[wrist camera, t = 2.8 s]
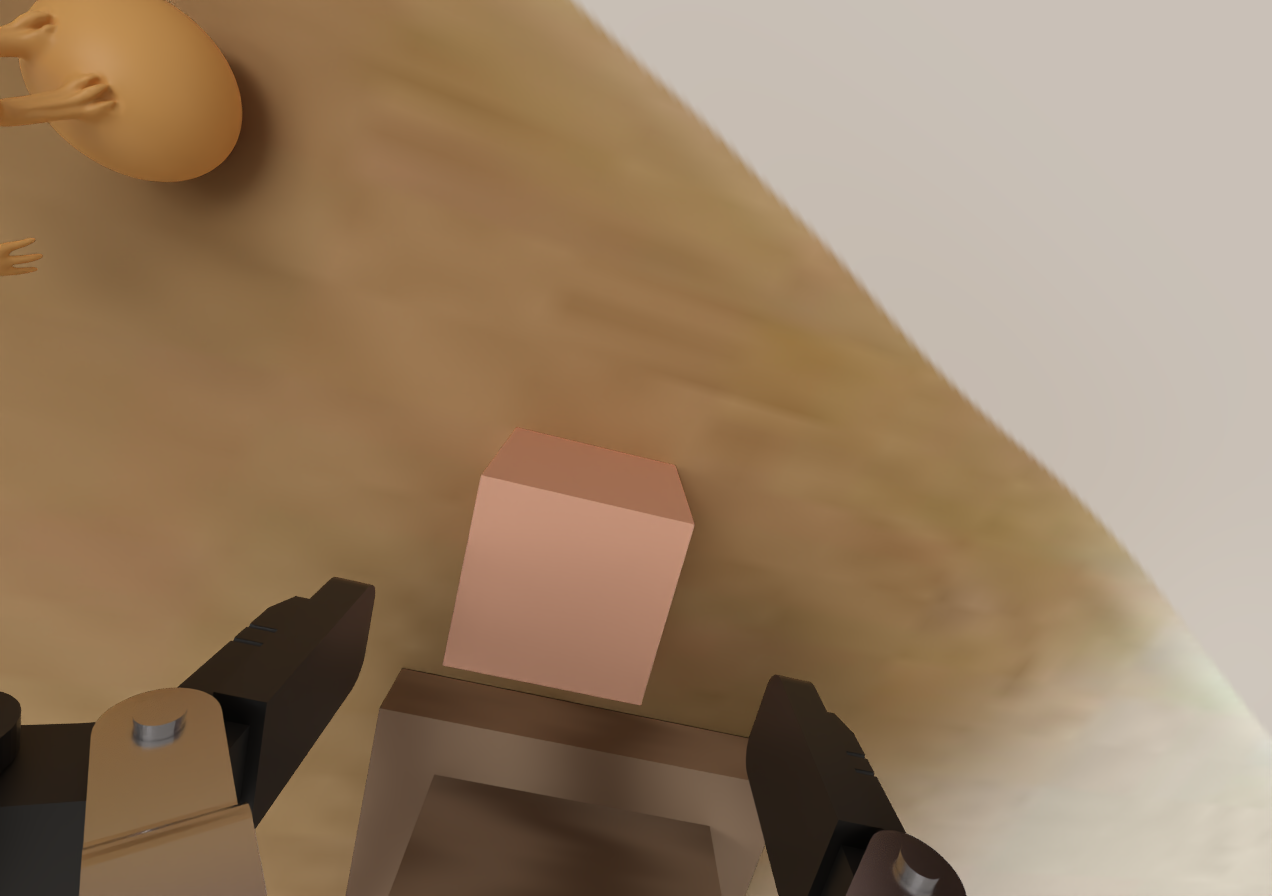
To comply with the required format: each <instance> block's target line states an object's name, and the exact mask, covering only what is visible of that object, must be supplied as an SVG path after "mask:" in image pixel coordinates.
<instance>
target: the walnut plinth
mask: <svg viewBox="0 0 1272 896" xmlns="http://www.w3.org/2000/svg"><path fill="white" fill-rule="evenodd" d="M748 739H749V738H744V737H739V736H734V735H729V734H724V733H719V732H714V731H709V730H704V729H699V728H694V727H690V726H685V725H680V724H675V723H670V722H665V721H660V720H655V719H650V718H645V717H640V716H635V715H630V714H625V713H620V712H615V711H610V710H605V709H600V708H595V707H591V706H586V705H581V704H576V703H571V702H566V701H561V700H556V699H551V698H546V697H541V696H536V695H531V694H526V693H521V692H516V691H511V690H506V689H501V688H496V687H492V686H487V685H482V684H477V683H472V682H467V681H462V680H457V679H452V678H447V677H442V676H437V675H432V674H427V673H422V672H417V671H412V670H407V669H402V670H401V671H400V673H399V675H398V677H397V678H396V680H395V682H394V684H393V685H392V687H391V689H390V691H389V692H388V694H387V696H386V698H385V699H384V701H383V703H382V705H381V707H380V708H379V714H378V720H377V725H376V731H375V736H374V742H373V747H372V753H371V758H370V764H369V769H368V775H367V780H366V786H365V791H364V797H363V802H362V808H361V814H360V819H359V825H358V830H357V836H356V841H355V847H354V852H353V858H352V863H351V869H350V874H349V880H348V885H347V891H346V896H745V895H746V892H747V890H748V887H749V885H750V882H751V879H752V877H753V874H754V872H755V869H756V866H757V864H758V861H759V858H760V856H761V853H762V851H763V848H764V845H765V841H764V837H763V833H762V830H761V826H760V822H759V818H758V814H757V810H756V806H755V803H754V799H753V795H752V791H751V787H750V783H749V779H748V776H747V771H746V750H747V744H748Z"/></svg>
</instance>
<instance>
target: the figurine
mask: <svg viewBox="0 0 1272 896" xmlns="http://www.w3.org/2000/svg"><path fill="white" fill-rule="evenodd" d="M0 57H19V64H20V69H21V73H22V76H23V79H24V82H25V85H26V87H27V89H28V92H29V94H30V95H27V96H19V97H11V98H4V99H0V126H20V125H29V124H37V123H44V122H48V123H49V124H50V125H51V126H52V127H53V128H54V129H55V130H56V132H57V133H58V134H59V135H60V136H62V137H63V138H64V139H65V140H66V141H67V142H68V143H69V144H71V145H72V146H73V147H74V148H76V149H77V150H78V151H80V152H81V153H82V154H84V155H85V156H87V157H89V158H90V159H92V160H93V161H95V162H97V163H99V164H101V165H103V166H105V167H107V168H109V169H111V170H113V171H116V172H118V173H121V174H124V175H127V176H130V177H134V178H138V179H142V180H148V181H156V182H177V181H184V180H189V179H193V178H196V177H199V176H202V175H204V174H206V173H208V172H210V171H212V170H213V169H215V168H216V167H217V166H219V165H220V164H221V163H222V162H223V161H224V160H225V159H226V158H227V157H228V156H229V154H230V153H231V151H232V150H233V148H234V146H235V144H236V142H237V140H238V137H239V134H240V130H241V124H242V103H241V97H240V92H239V88H238V85H237V82H236V79H235V77H234V74H233V72H232V70H231V68H230V66H229V64H228V62H227V61H226V59H225V57H224V56H223V54H222V53H221V51H220V50H219V48H218V47H217V46H216V44H215V43H214V42H213V41H212V39H211V38H210V37H209V36H208V35H207V34H206V33H205V31H204V30H203V29H202V28H201V27H200V26H198V25H197V24H196V23H195V22H194V21H193V20H192V19H191V18H189V17H188V16H187V15H186V14H184V13H183V12H182V11H180V10H179V9H177V8H176V7H175V6H173V5H171V4H170V3H168V2H166V1H165V0H37V1H36V2H35V3H34V4H33V6H32V7H31V8H30V10H29V11H28V12H26V13H24V14H21V15H19V16H18V17H17V18H16V19H15V20H14V21H13V22H11V23H9V24H7V25H3V26H0ZM34 241H35V239H34V238H27V239H23V240H19V241H13V242H6V243H1V244H0V276H7V275H17V274H24V273H29V272H33V271H36V270H38V269H37V268H35V267H25V268H15V267H12V266H13V265H15V264H21V263H28V262H32V261H35V260H38V259H40V258H42V254H31V255H20V256H9V254H10V252H12V251H13V250H16V249H19V248H22V247H24V246H27V245H29V244H31V243H33V242H34Z"/></svg>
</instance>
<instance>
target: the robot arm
mask: <svg viewBox="0 0 1272 896" xmlns="http://www.w3.org/2000/svg"><path fill="white" fill-rule="evenodd" d="M374 599H375V587H374V586H373V585H370V584H365V583H360V582H356V581H351V580H347V579H342V578H338V577H333V578H331V579H330V580H329V581H328V582H327V583H326V584H325V585H324V586H323V587H322V588H321V589H320V590H319V591H318V592H317V593H315V594H314V595H313V596H312V597H311V598H310V599H307V598H302V597H297V596H295V597H293V598H290V599H288V600H286V601H283V602H281V603H278V604H276V605H274V606H271V607H269V608H268V609H267V610H265V611H264V612H263V613H262V614H261V615H260V616H259V617H257V618H256V619H255V620H254V621H253V622H252V623H251V624H250V626H249V627H246V628H245V629H244V630H243V631H241V632H240V633H239V634H238V635H237V636H236V637H235V638H234V641H230V642H229V643H228V644H226V645H225V646H224V647H223V648H222V649H221V650H220V651H218V652H217V653H216V654H215V655H214V656H213V657H212V658H210V659H209V660H208V661H207V662H206V663H205V664H204V665H202V666H201V667H200V668H199V669H198V670H197V671H196V672H194V673H193V674H192V675H191V676H190V677H189V678H188V679H186V680H185V681H184V682H183V683H182V684H181V685H180V686H178V687H177V688H166V689H158V690H153V691H148V692H145V693H141V694H138V695H135V696H133V697H130V698H128V699H126V700H124V701H122V702H120V703H118V704H116V705H115V706H113V707H111V708H110V709H108V710H107V711H106V712H105V713H104V714H103V715H101V717H100V718H99V719H98V720H97V721H96V722H93V723H76V724H45V725H21V707H20V704H19V702H18V701H17V700H16V699H15V698H14V697H12V696H11V695H9V694H6V693H4V692H0V896H267V892H266V887H265V882H264V876H263V871H262V866H261V860H260V855H259V850H258V844H257V839H256V834H255V828H256V827H257V826H258V824H259V823H260V821H261V820H262V818H263V817H264V815H265V814H266V813H267V811H268V810H269V808H270V807H271V805H272V804H273V803H274V801H275V800H276V798H277V797H278V795H279V794H280V792H281V791H282V790H283V788H284V787H285V785H286V784H287V782H288V781H289V779H290V778H291V777H292V775H293V774H294V772H295V771H296V769H297V768H298V766H299V765H300V764H301V762H302V761H303V759H304V758H305V756H306V755H307V753H308V752H309V751H310V749H311V748H312V746H313V745H314V743H315V742H316V740H317V739H318V738H319V736H320V735H321V733H322V732H323V730H324V729H325V727H326V726H327V725H328V723H329V722H330V720H331V719H332V717H333V716H334V714H335V713H336V712H337V710H338V709H339V707H340V706H341V704H342V703H343V702H344V700H345V699H346V697H347V696H348V694H349V693H350V691H351V690H352V688H353V686H354V685H355V682H356V680H357V678H358V676H359V673H360V671H361V668H362V664H363V661H364V657H365V651H366V645H367V640H368V634H369V628H370V622H371V616H372V610H373V605H374ZM746 771H747V776H748V779H749V783H750V787H751V791H752V795H753V799H754V803H755V806H756V810H757V814H758V818H759V822H760V826H761V830H762V833H763V837H764V841H765V845H766V849H767V853H768V857H769V861H770V864H771V868H772V872H773V876H774V880H775V884H776V888H777V891H778V895H779V896H966V892H965V889H964V886H963V884H962V882H961V880H960V878H959V876H958V875H957V874H956V872H955V871H954V869H953V868H952V867H951V866H950V865H949V863H948V862H947V861H946V860H945V859H944V858H943V857H942V856H941V855H940V854H939V853H937V852H936V851H935V850H934V849H932V848H931V847H930V846H928V845H927V844H925V843H924V842H922V841H921V840H919V839H917V838H915V837H913V836H911V835H909V834H906V832H905V830H904V828H903V826H902V824H901V822H900V821H899V819H898V817H897V815H896V813H895V811H894V809H893V807H892V805H891V803H890V802H889V800H888V798H887V796H886V794H885V792H884V790H883V788H882V786H881V784H880V783H879V781H878V779H877V777H874V771H873V769H872V767H871V766H870V764H869V762H868V760H867V759H865V754H864V752H863V750H862V748H861V747H860V745H859V743H858V741H857V739H856V737H855V735H854V733H853V732H852V731H851V730H850V729H849V728H848V727H847V726H846V725H845V724H844V723H843V722H842V721H841V720H840V719H839V718H838V717H837V716H836V715H835V714H834V713H829V712H827V711H826V709H825V707H824V705H823V703H822V701H821V699H820V697H819V695H818V693H817V691H816V689H815V687H814V685H813V684H812V683H811V682H807V681H802V680H798V679H793V678H789V677H784V676H780V675H774V676H772V677H771V679H770V680H769V682H768V685H767V688H766V690H765V693H764V696H763V699H762V702H761V705H760V708H759V710H758V713H757V716H756V719H755V722H754V725H753V728H752V730H751V733H750V736H749V739H748V744H747V750H746Z"/></svg>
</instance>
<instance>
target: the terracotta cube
mask: <svg viewBox="0 0 1272 896" xmlns="http://www.w3.org/2000/svg"><path fill="white" fill-rule="evenodd" d="M694 525H695V524H694V521H693V518H692V515H691V512H690V508H689V505H688V502H687V499H686V496H685V493H684V490H683V487H682V484H681V481H680V478H679V475H678V472H677V469H676V465H673V464H668V463H664V462H660V461H656V460H652V459H648V458H643V457H639V456H635V455H631V454H627V453H623V452H618V451H614V450H610V449H606V448H602V447H598V446H593V445H589V444H585V443H581V442H577V441H572V440H568V439H564V438H560V437H556V436H552V435H547V434H543V433H539V432H535V431H531V430H527V429H522V428H518V427H516V428H515V430H514V431H513V432H512V434H511V435H510V436H509V438H508V439H507V441H506V442H505V443H504V445H503V446H502V447H501V449H500V450H499V451H498V453H497V454H496V456H495V457H494V458H493V460H492V461H491V462H490V464H489V465H488V466H487V468H486V469H485V470H484V472H483V473H482V475H481V478H480V483H479V488H478V493H477V498H476V503H475V508H474V513H473V517H472V522H471V527H470V532H469V537H468V542H467V547H466V552H465V557H464V562H463V567H462V572H461V577H460V582H459V587H458V592H457V596H456V601H455V606H454V611H453V616H452V621H451V626H450V631H449V636H448V641H447V646H446V651H445V656H444V661H443V666H448V667H453V668H458V669H463V670H468V671H473V672H478V673H483V674H488V675H493V676H498V677H503V678H507V679H512V680H517V681H522V682H527V683H532V684H537V685H542V686H547V687H552V688H557V689H562V690H567V691H572V692H577V693H582V694H587V695H592V696H596V697H601V698H606V699H611V700H616V701H621V702H626V703H631V704H636V705H641V703H642V700H643V696H644V693H645V690H646V686H647V683H648V680H649V676H650V673H651V670H652V666H653V663H654V660H655V656H656V653H657V649H658V646H659V643H660V639H661V636H662V633H663V629H664V626H665V623H666V619H667V616H668V613H669V609H670V606H671V603H672V599H673V596H674V593H675V589H676V586H677V582H678V579H679V576H680V572H681V569H682V566H683V562H684V559H685V556H686V552H687V549H688V546H689V542H690V539H691V536H692V532H693V529H694Z"/></svg>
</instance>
